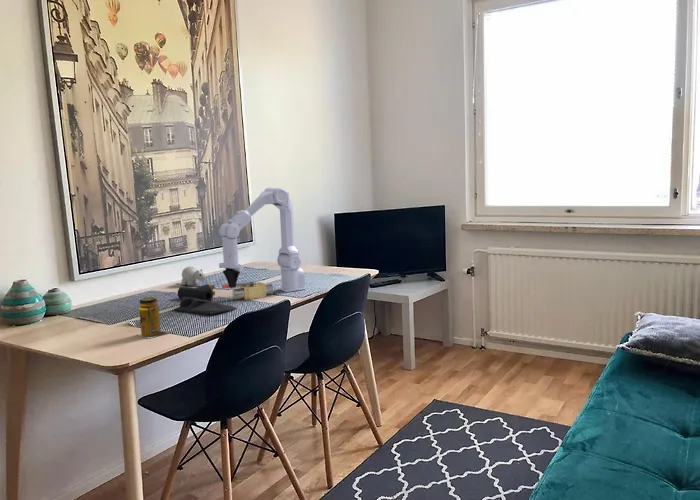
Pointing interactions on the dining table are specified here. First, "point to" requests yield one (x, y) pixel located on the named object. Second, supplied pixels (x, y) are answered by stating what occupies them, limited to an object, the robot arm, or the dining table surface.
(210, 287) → the pipe connector
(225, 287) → the lever
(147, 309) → the condiment
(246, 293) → the valve
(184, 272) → the chubby cartoon animal
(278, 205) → the robot arm
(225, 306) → the dark slate chunk
